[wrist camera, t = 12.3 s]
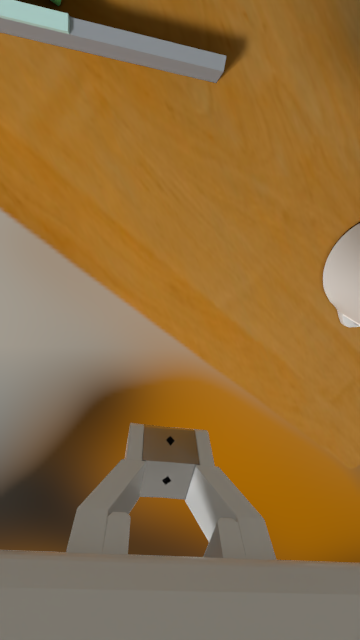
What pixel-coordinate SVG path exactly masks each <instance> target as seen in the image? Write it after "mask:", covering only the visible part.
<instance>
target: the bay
mask: <svg viewBox="0 0 360 640" xmlns="http://www.w3.org/2000/svg"><path fill="white" fill-rule="evenodd" d="M0 32H1V33H6V34H10V35H14V36H18V37H23V38H27V39H31V40H35V41H40V42H44V43H48V44H52V45H57V46H61V47H65V48H69V49H74V50H78V51H82V52H86V53H91V54H95V55H99V56H104V57H108V58H112V59H116V60H121V61H125V62H129V63H133V64H138V65H142V66H146V67H150V68H155V69H159V70H163V71H167V72H172V73H176V74H180V75H185V76H189V77H193V78H197V79H202V80H206V81H210V82H214V83H216V82H217V81H218V79H219V78H220V76H221V75H222V73H223V72H224V67H225V61H226V56H225V55H221V54H217V53H213V52H209V51H205V50H201V49H197V48H193V47H189V46H185V45H181V44H177V43H173V42H169V41H165V40H161V39H157V38H153V37H149V36H145V35H141V34H137V33H133V32H129V31H125V30H121V29H117V28H113V27H109V26H105V25H101V24H97V23H93V22H89V21H85V20H81V19H76V18H72V17H70V16H69V14H68V13H64V12H60V11H56V10H52V9H48V8H44V7H40V6H36V5H32V4H28V3H24V2H20V1H16V0H0Z"/></svg>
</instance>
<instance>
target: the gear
mask: <svg viewBox="0 0 360 640" xmlns="http://www.w3.org/2000/svg"><path fill="white" fill-rule="evenodd" d="M50 1H52V2H53V3H55V4H56V5H57V6H59V5H60V4H61V0H50Z"/></svg>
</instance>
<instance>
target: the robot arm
mask: <svg viewBox="0 0 360 640" xmlns="http://www.w3.org/2000/svg"><path fill="white" fill-rule="evenodd" d="M323 286H324V290H325V293H326V295H327V297H328V299H329V300H330V302H331V303H332V304H333V305H334V306H335V307H336V309H337V310H338V315H339V319H340V322H341V323H342V324H343V325H345V326H346V327H360V223H359V224H357V225H356V226H354V227H353V228H351V229H350V230H349V231H348V232H347V233H345V234H344V235H343V236H342V237H341V238H340V240H339V241H338V242H337V243H336V245H335V246H334V247H333V249H332V251H331V252H330V254H329V256H328V259H327V261H326V264H325V267H324V272H323ZM139 497H163V498H174V499H175V498H176V499H185V501H186V503H187V505H188V506H189V508H190V510H191V512H192V513H193V515H194V517H195V519H196V520H197V522H198V524H199V525H200V527H201V529H202V531H203V532H204V534H205V536H206V538H207V539H208V541H209V544H208V547H207V549H206V552H205V554H204V557H180V556H151V555H128V543H129V530H130V516H129V515H128V514H129V513H130V511H131V510H132V508H133V506H134V505H135V503H136V502H137V500H138V499H139ZM0 640H360V563H348V562H320V561H318V562H317V561H291V560H276V557H275V554H274V550H273V547H272V544H271V541H270V537H269V534H268V531H267V527H266V524H265V521H264V519H263V517H262V516H261V515H260V514H259V513H258V512H257V511H256V509H255V508H254V507H253V506H252V505H251V504H250V503H249V501H248V500H247V499H246V498H245V497H244V496H243V494H242V493H241V492H240V491H239V490H238V489H237V488H236V486H235V485H234V484H233V483H232V482H231V481H230V480H229V478H228V477H227V476H226V475H225V474H224V473H223V472H222V471H221V469H220V468H219V467H215V465H214V461H213V455H212V450H211V445H210V440H209V435H208V432H207V431H206V430H196V429H194V430H193V429H185V428H172V427H161V426H154V425H145V424H144V425H143V424H135V423H131V424H130V429H129V435H128V441H127V447H126V454H125V459H122V460H121V461H120V462H119V463H118V464H117V465H116V466H115V468H114V469H113V470H112V471H111V472H110V473H109V474H108V475H107V476H106V477H105V478H104V480H103V481H102V482H101V483H100V484H99V485H98V486H97V487H96V488H95V490H94V491H93V492H92V493H91V494H90V495H89V496H88V497H87V498H86V499H85V500H84V502H83V503H82V504H81V505H80V506H79V507H78V508H77V511H76V515H75V519H74V523H73V527H72V531H71V535H70V539H69V543H68V547H67V551H66V552H43V551H42V552H41V551H13V550H0Z"/></svg>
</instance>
